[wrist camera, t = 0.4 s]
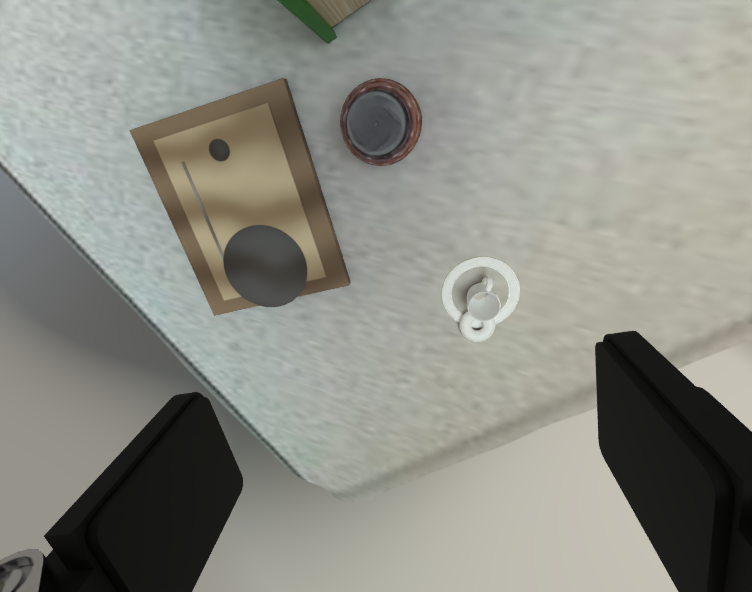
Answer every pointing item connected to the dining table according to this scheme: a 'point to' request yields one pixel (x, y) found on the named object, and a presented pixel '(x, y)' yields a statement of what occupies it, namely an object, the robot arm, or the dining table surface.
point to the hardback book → (322, 13)
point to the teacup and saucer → (486, 309)
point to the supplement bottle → (381, 122)
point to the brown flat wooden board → (245, 199)
